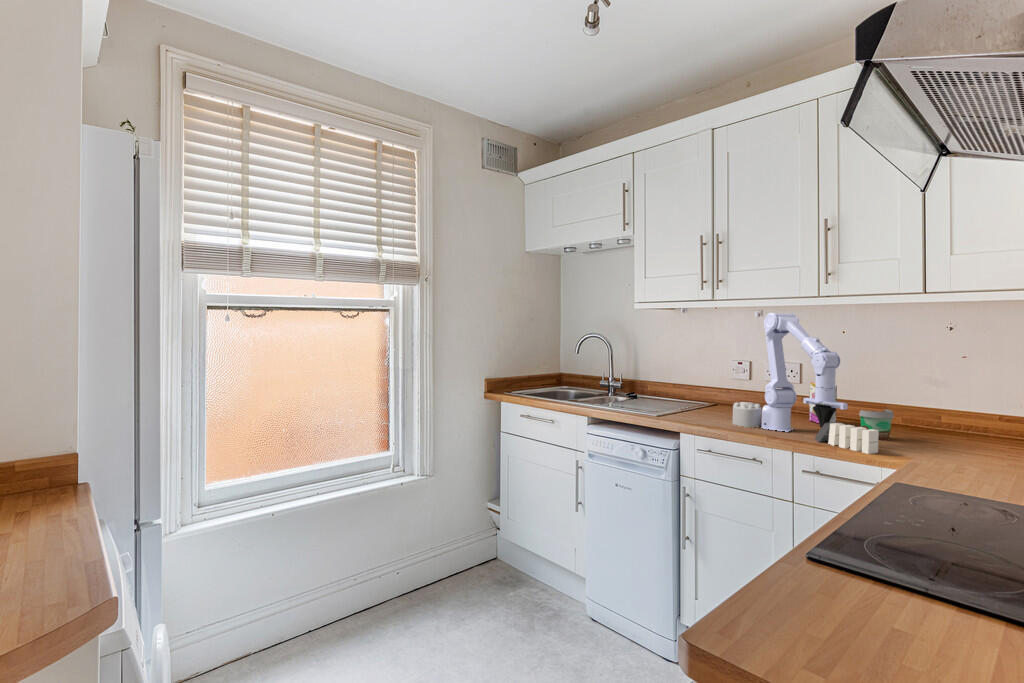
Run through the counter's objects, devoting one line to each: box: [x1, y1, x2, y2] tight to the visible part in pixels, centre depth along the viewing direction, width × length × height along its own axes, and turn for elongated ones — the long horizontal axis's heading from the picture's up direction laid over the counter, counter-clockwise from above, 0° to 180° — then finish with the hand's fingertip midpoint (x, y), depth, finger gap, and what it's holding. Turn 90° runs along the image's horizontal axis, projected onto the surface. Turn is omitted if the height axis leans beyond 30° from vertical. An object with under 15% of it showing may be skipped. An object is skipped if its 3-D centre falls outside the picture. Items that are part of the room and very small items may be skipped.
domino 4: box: [861, 429, 879, 455], centre depth 158 cm, size 2×4×7 cm, turn 111°
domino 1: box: [827, 422, 846, 447], centre depth 168 cm, size 2×4×7 cm, turn 111°
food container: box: [858, 408, 895, 441], centre depth 177 cm, size 12×6×10 cm, turn 105°
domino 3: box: [849, 426, 867, 452], centre depth 161 cm, size 2×4×7 cm, turn 111°
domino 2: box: [838, 424, 856, 449], centre depth 165 cm, size 2×4×7 cm, turn 111°
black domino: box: [814, 422, 835, 443], centre depth 171 cm, size 2×4×7 cm
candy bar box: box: [808, 381, 838, 424], centre depth 206 cm, size 11×5×16 cm, turn 179°
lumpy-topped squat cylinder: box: [732, 401, 763, 428], centre depth 202 cm, size 10×13×9 cm
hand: (823, 427), depth 172 cm, fingers closed
